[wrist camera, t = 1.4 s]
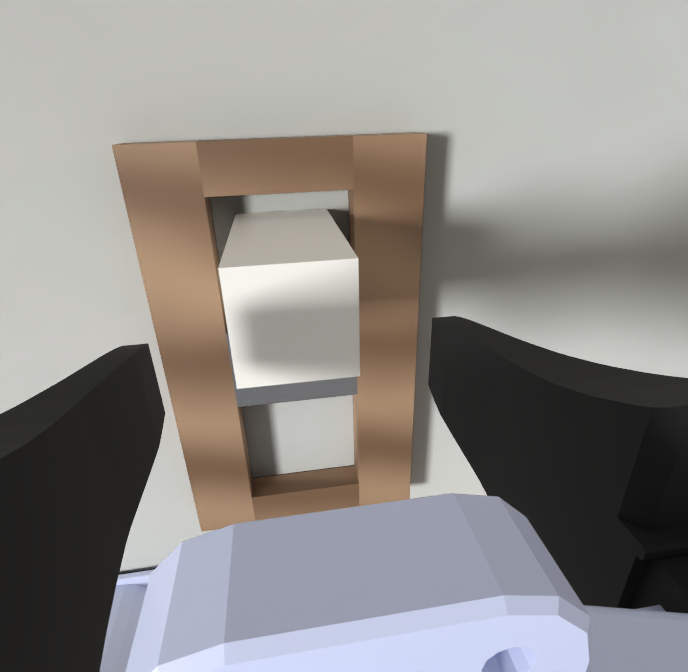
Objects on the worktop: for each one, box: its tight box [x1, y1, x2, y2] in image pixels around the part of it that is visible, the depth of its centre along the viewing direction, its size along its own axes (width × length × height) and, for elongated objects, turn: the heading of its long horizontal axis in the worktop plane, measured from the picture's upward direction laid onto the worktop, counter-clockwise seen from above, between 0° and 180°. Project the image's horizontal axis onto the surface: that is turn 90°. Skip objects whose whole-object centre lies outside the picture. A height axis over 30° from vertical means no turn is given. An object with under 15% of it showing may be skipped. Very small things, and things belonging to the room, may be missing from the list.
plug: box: [218, 209, 360, 389], centre depth 17 cm, size 4×4×8 cm
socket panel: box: [112, 133, 427, 531], centre depth 22 cm, size 20×12×2 cm, turn 1°
